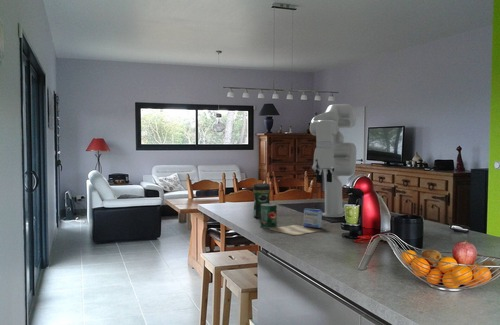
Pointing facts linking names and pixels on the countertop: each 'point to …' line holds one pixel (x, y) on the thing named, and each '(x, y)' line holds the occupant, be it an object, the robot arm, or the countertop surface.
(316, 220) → the medicine box
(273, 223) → the canned tomato
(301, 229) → the wooden board
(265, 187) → the coffee jar
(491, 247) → the countertop surface
